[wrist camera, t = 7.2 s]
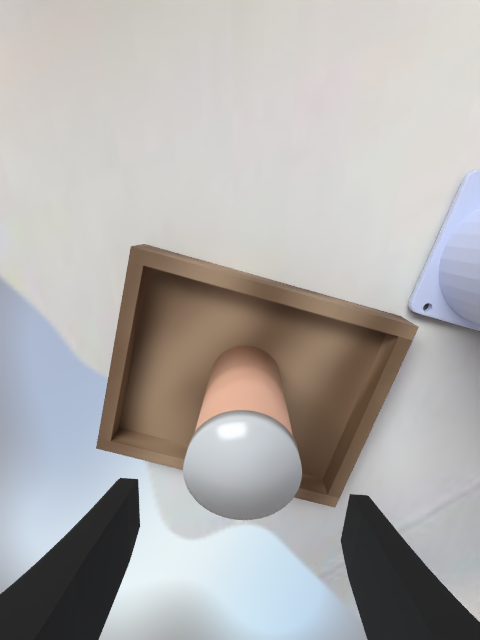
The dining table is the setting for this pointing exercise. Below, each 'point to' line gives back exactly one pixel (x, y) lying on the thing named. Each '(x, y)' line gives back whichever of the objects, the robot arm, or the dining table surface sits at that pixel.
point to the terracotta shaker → (243, 440)
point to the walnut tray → (246, 330)
